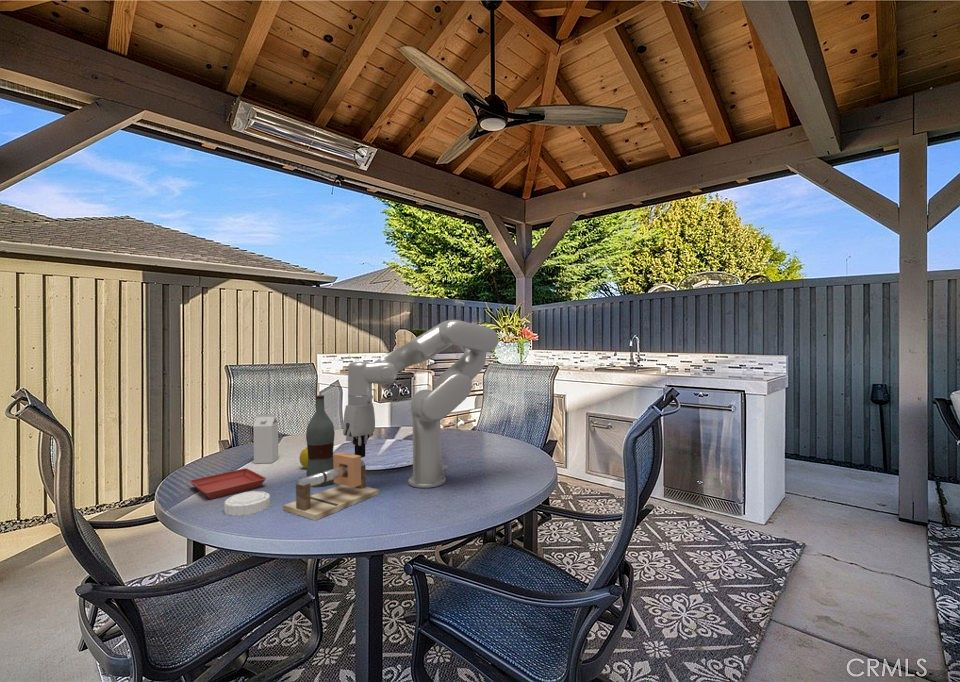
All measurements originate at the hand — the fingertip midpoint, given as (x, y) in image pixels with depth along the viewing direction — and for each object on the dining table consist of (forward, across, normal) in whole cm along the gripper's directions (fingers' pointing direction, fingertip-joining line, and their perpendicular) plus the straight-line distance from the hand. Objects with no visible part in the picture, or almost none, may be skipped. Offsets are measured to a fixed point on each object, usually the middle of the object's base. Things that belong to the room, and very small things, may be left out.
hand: (360, 456), depth 146 cm
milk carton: (+12, -6, -60) cm, 61 cm away
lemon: (+12, -8, -37) cm, 39 cm away
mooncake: (+12, +27, -18) cm, 34 cm away
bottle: (+12, +1, -18) cm, 21 cm away
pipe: (+4, +11, 0) cm, 12 cm away
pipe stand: (+11, +11, 0) cm, 16 cm away
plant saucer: (+12, +20, -41) cm, 47 cm away
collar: (+7, +6, 0) cm, 9 cm away
